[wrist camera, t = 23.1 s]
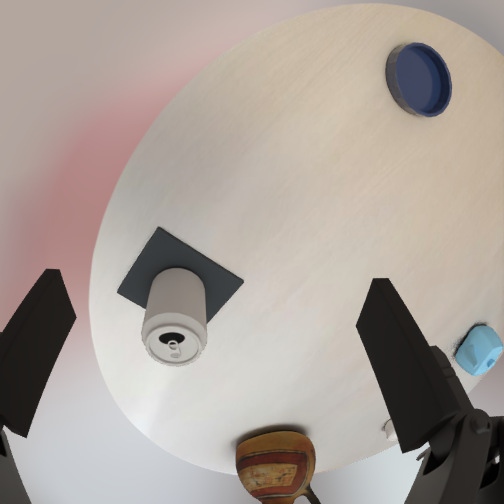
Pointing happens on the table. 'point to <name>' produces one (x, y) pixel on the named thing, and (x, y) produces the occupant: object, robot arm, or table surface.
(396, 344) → the robot arm
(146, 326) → the can
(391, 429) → the ramekin
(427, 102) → the dish
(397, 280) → the table surface
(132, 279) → the mat
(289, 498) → the ceramic pitcher
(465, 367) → the teapot
